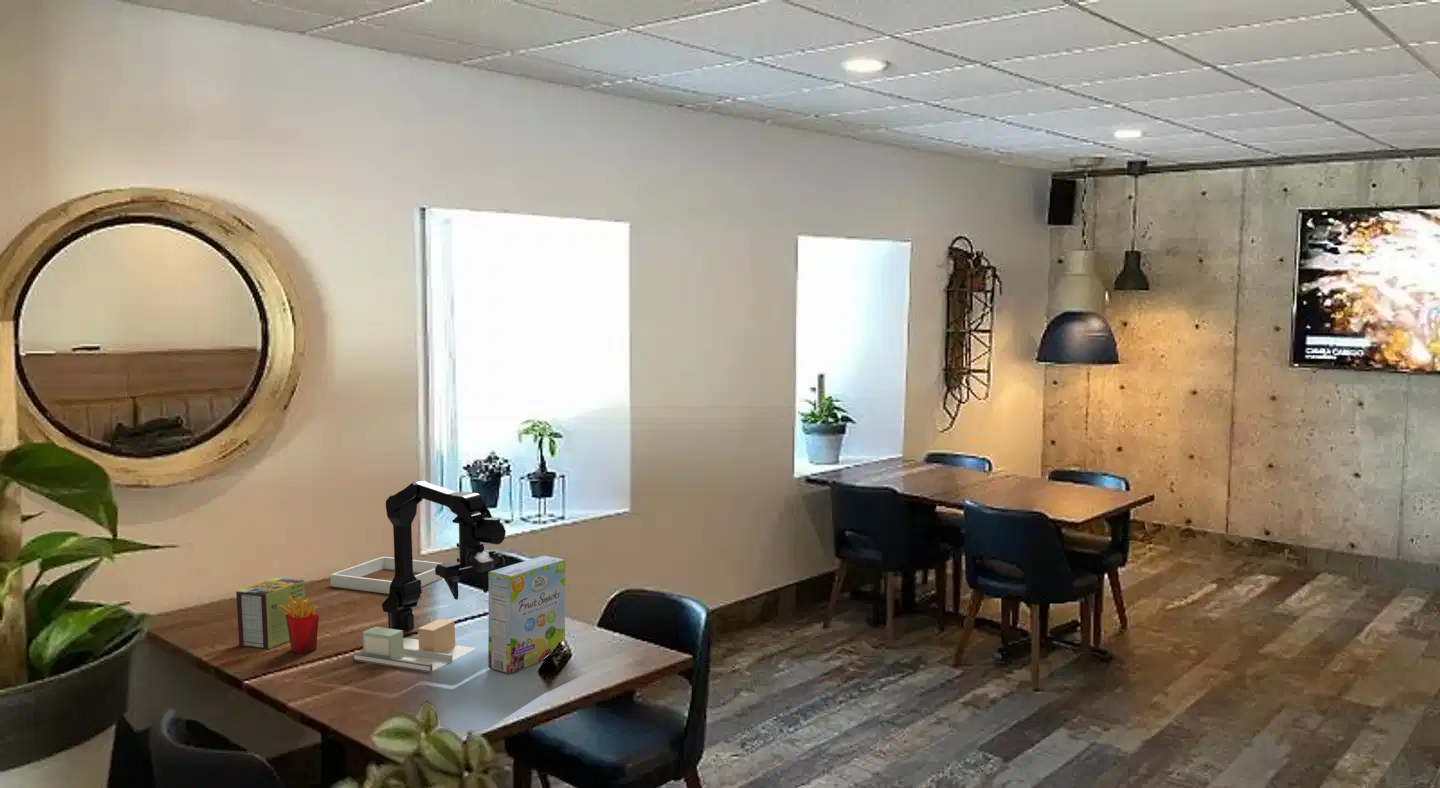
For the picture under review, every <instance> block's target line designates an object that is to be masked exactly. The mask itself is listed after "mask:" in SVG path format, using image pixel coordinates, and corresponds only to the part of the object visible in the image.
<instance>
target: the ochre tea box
mask: <svg viewBox="0 0 1440 788" xmlns="http://www.w3.org/2000/svg"><path fill="white" fill-rule="evenodd" d="M455 623H456V622H455V620H451V619H443V618H438V619H435V620H433V621H432V622H429V623H426V624H425V625H423V626H420V627H418V628H417V635H418V638H417V640H419V650H424V651H431V652H438V653H442V652H444V651H446V650H448V649H450V648H452V647H454V646H455V645H456V628H455V627H456V625H455Z"/></svg>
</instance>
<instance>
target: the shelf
mask: <svg viewBox="0 0 1440 788" xmlns="http://www.w3.org/2000/svg"><path fill="white" fill-rule="evenodd" d="M403 647H404V657H401V658H399V659H397V658H390V657H384V656H378V655H371V654H365V653H363V652H359V651H358V652H355V653H353V654H354V661H357V662H363V663H369V664H375V665H381V666H387V667H395V668H400V669H408V670H413V671H418V672H419V671H420V672H423V673H425V672H426V673H432V672H433V671H435V670H438V669H439V668H441V667H444V666H446V665H447V664H449V663H451V662H454V661H455V660H458V659H459V658H461V657H462V656H465V655H467V654H469V653H471V652H472V651H475V650H476V649H477V647H471V646H465V645H464V646H463V645H458V644H457V645H456V644H455V646H454V647H452V648H450V649H448V650H446V651H444V652H442V653H438V652H431V651H424V650H419V640H418V638H409V637H403Z"/></svg>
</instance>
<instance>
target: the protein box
mask: <svg viewBox="0 0 1440 788" xmlns="http://www.w3.org/2000/svg"><path fill="white" fill-rule="evenodd" d="M235 594H236V610H237V632H238V646H240V647H247V648H255V649H256V648H257V649H264V650H270V649H272V648H275V647H277V646H279V645H281V644H284V643H286V642H290V638H289V632H288V626H287V619H286V614H287V613H286V612H284V611H283V610H282V609H280V608H279V607H278V606H279V605H281V606H283V607H284V608H285V609H287V610H288V608H287V607H286V605H287V604H288V605H289V606H290V607H291V604H290V602H289V600H288V597H289V596H291V597H292V600H293V601H295V602H296V605H297V603H298V597H301V600H303V601H304V600H306V598H305V597H306V596H305V594H306V593H305V580H304V579H293V578H285V577H284V578H283V577H282V578H281V577H277V576H276V577H275V576H274V577H272V578H270V579H266V580H264V581H260V582H258V583H255V584H253V585H249V586H248V587H245V588H242V589H239V590H236V591H235ZM296 605H295V607H296ZM291 609H292V607H291ZM288 611H289V610H288ZM289 612H290V611H289ZM298 612H300V607H299V609H298Z"/></svg>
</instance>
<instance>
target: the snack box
mask: <svg viewBox="0 0 1440 788" xmlns="http://www.w3.org/2000/svg"><path fill="white" fill-rule="evenodd" d="M487 637H488V642H487V643H488V646H487V647H488V656H487V657H488V665H487V666H488V668H489V669H492V670H496V671H499V672H500V673H501V672H502V673H504V674H505V673H506V674H510V675H511V674H513V673H516V672H518V671H520V670H523V669H525V667H526V668H528V667H530V666H532V664H533V665H535V664H537V662H538V663H539V662H542V661H544V660H543V659H544V658H545V657H546V656H547V655H548V654H550V653H551V652H552V650H553V649H554V648H555V646H556V645H557V644H558V643H559V642H561V641H565V642H566V560H565V559H564V558H560V557H552V556H547V555H541V556H537V557H535V558H531V559H528V560H523V561H521V562H517V563H513V564H510V565H507V566H502V567H500V569H497V570H493V571H490V572H489V588H488V635H487Z"/></svg>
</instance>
